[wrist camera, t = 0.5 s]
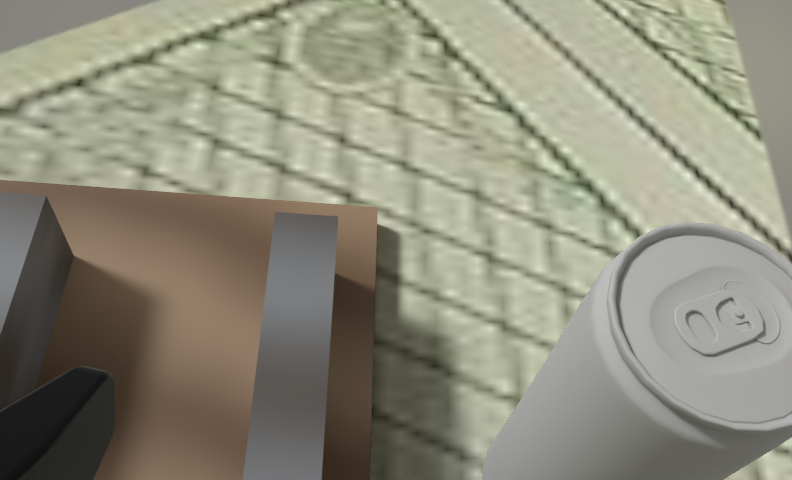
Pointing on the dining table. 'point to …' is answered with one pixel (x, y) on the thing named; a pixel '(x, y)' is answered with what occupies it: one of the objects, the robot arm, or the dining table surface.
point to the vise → (197, 325)
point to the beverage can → (662, 367)
